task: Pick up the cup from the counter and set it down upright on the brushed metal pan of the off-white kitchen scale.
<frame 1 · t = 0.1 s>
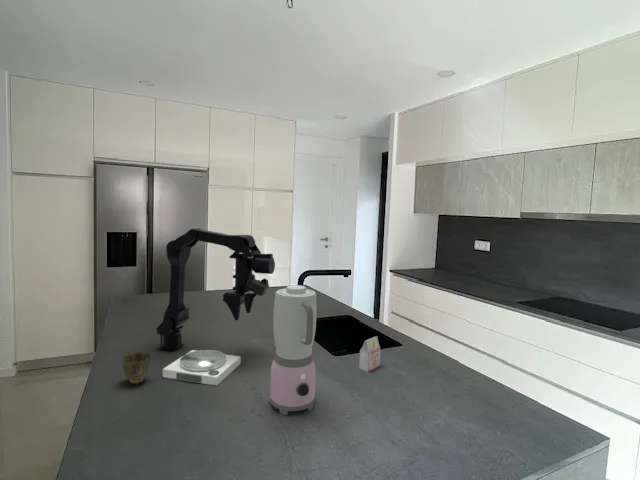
hand: (242, 316, 128), 15 cm above the worktop, tool pointing down, fingers open, 9 cm apart
scale base: (203, 370, 118), on the worktop
blender: (294, 406, 99), on the worktop
condiment: (287, 347, 141), on the worktop
scale pan: (203, 359, 118), point 3 cm above the worktop, slide at -0.3 cm
milk carton: (369, 367, 125), on the worktop
cup: (136, 382, 109), on the worktop
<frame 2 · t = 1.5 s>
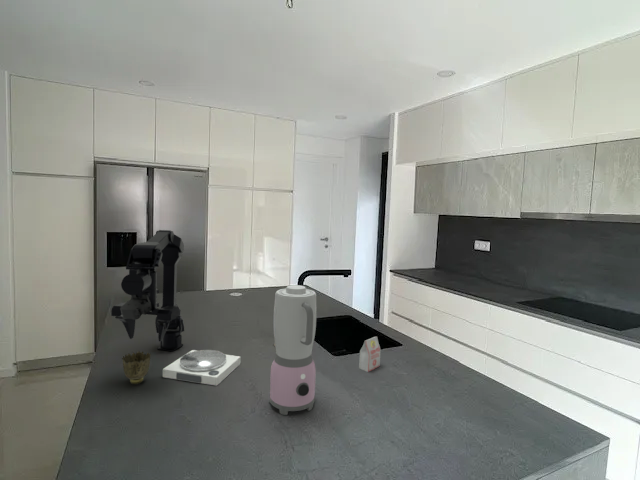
hand: (145, 339, 109), 12 cm above the worktop, tool pointing down, fingers open, 9 cm apart
nothing on the worktop moved.
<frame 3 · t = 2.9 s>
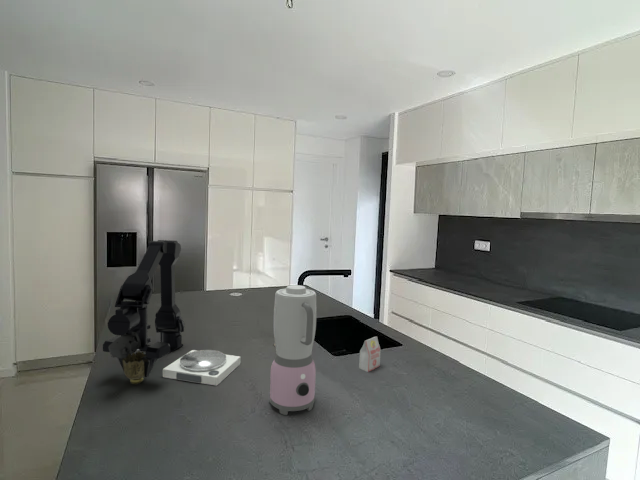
hand: (136, 375, 109), 2 cm above the worktop, tool pointing down, fingers closed on cup, 6 cm apart
cup: (136, 382, 109), on the worktop, touching gripper
everything else where it was.
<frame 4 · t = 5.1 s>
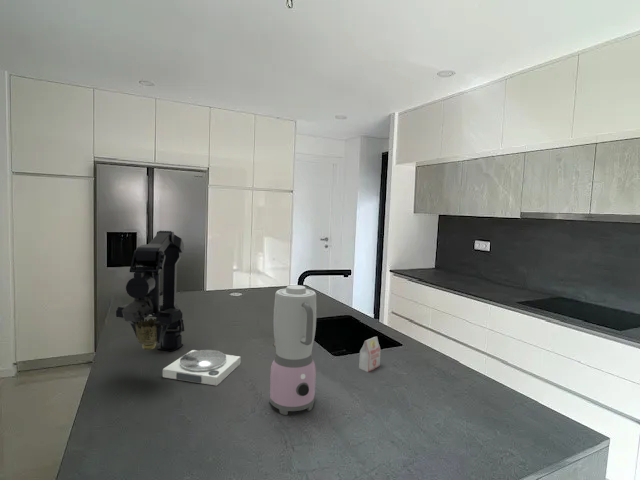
hand: (149, 341, 109), 12 cm above the worktop, tool pointing down, fingers closed on cup, 6 cm apart
cup: (149, 348, 110), point 9 cm above the worktop, touching gripper
everything else where it was.
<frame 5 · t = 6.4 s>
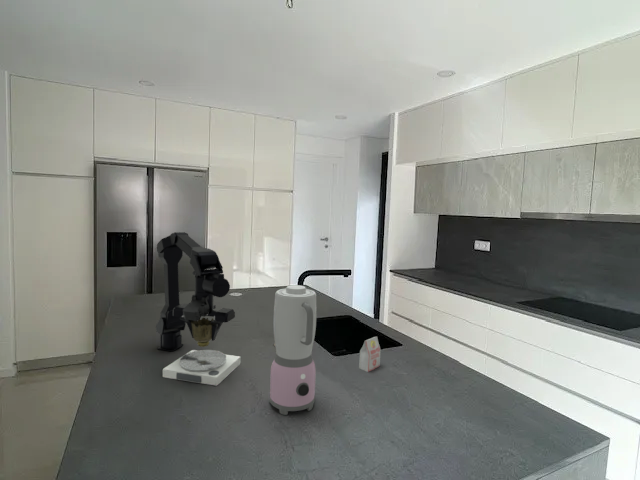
hand: (203, 339, 117), 10 cm above the worktop, tool pointing down, fingers closed on cup, 6 cm apart
cup: (203, 346, 118), point 8 cm above the worktop, touching gripper
everything else where it was.
when the fingers open (7 cm above the worktop, at t = 7.3 s): cup drops 2 cm, resting on scale pan.
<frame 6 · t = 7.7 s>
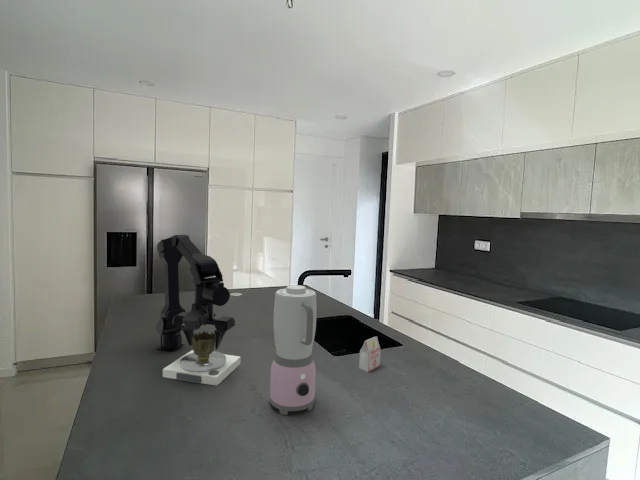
hand: (203, 347, 118), 7 cm above the worktop, tool pointing down, fingers open, 9 cm apart
scale pan: (203, 360, 118), point 3 cm above the worktop, slide at -0.7 cm, touching cup
cup: (203, 360, 118), point 3 cm above the worktop, touching scale pan
everything else where it was.
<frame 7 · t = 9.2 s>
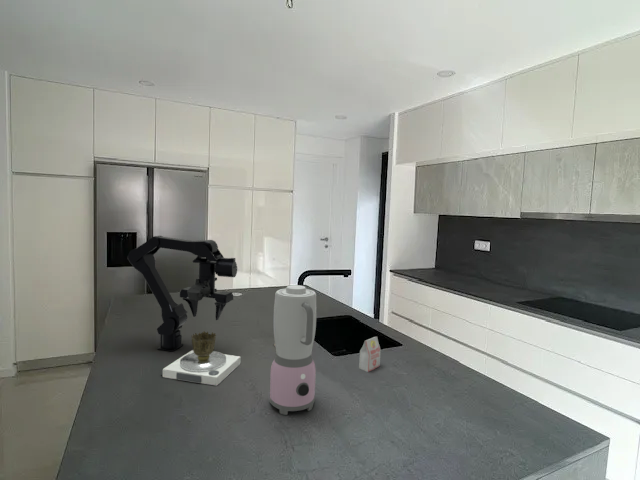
hand: (205, 318, 133), 12 cm above the worktop, tool pointing down, fingers open, 9 cm apart
nothing on the worktop moved.
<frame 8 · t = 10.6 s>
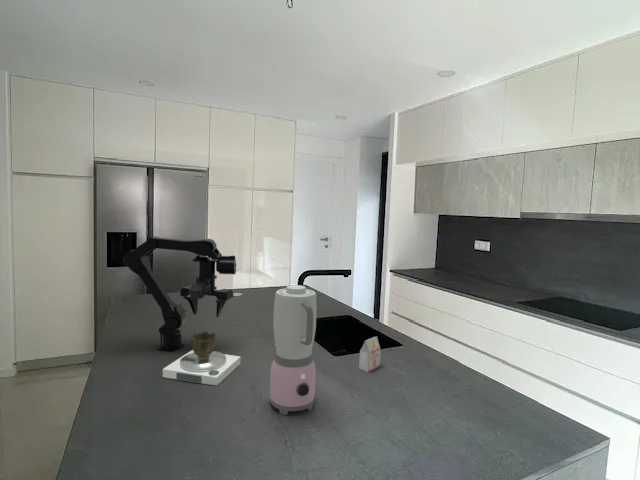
hand: (206, 315, 136), 12 cm above the worktop, tool pointing down, fingers open, 9 cm apart
nothing on the worktop moved.
at the end: cup inside the target area on the scale base (0.0 cm from its centre), point 3.4 cm above the scale base's base; cup tilted 0°; cup touching scale pan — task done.
